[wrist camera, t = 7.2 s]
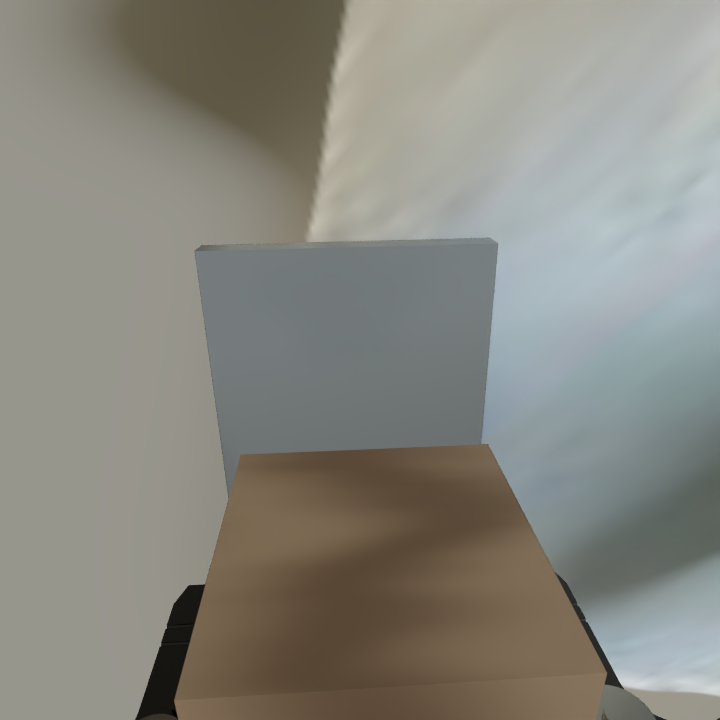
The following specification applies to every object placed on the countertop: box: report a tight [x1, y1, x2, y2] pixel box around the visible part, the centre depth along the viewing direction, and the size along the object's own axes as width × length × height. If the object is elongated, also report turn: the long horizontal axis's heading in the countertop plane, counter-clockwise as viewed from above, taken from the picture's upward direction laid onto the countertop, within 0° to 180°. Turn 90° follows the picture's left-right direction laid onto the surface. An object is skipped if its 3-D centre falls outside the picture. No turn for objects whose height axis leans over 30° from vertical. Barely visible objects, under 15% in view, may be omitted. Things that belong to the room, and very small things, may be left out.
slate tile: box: [195, 238, 498, 498], centre depth 24 cm, size 12×12×1 cm
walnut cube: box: [174, 444, 607, 720], centre depth 11 cm, size 6×6×6 cm
